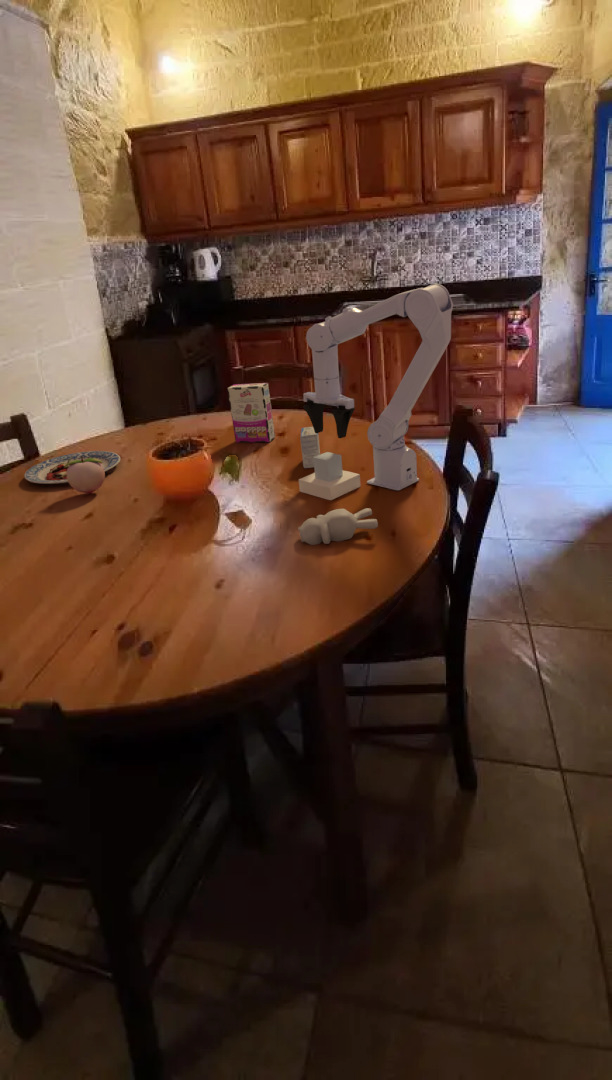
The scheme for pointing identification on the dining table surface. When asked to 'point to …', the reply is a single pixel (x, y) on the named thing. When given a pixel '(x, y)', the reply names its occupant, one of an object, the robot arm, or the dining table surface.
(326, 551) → the dining table surface
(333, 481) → the base brick
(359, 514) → the bunny figurine
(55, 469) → the ceramic plate
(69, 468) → the decorative fruit
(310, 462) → the medicine box
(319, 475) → the blue-grey brick
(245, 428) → the candy bar box
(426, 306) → the robot arm
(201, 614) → the dining table surface
